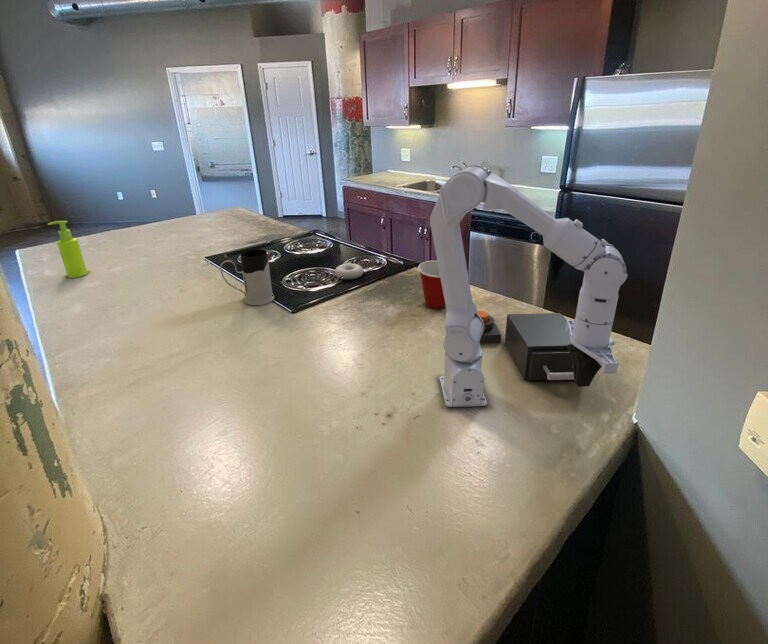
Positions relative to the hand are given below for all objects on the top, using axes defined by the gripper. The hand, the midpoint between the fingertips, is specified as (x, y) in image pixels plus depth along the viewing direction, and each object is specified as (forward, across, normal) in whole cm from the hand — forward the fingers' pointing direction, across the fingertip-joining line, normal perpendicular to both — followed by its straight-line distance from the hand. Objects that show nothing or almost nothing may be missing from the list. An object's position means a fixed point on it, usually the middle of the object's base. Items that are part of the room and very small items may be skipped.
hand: (581, 384), depth 75 cm
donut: (+7, +73, +47) cm, 87 cm away
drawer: (+6, +14, 0) cm, 15 cm away
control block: (+7, +31, +11) cm, 34 cm away
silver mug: (+7, +54, +76) cm, 93 cm away
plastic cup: (+7, +48, +20) cm, 52 cm away
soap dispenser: (+8, +80, +147) cm, 167 cm away
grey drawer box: (+7, +18, 0) cm, 19 cm away
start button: (+3, +31, +11) cm, 33 cm away
